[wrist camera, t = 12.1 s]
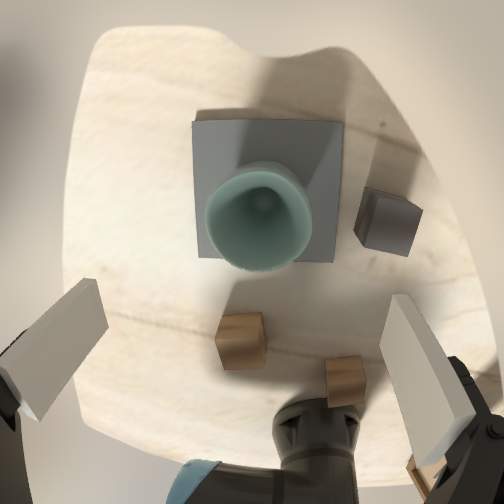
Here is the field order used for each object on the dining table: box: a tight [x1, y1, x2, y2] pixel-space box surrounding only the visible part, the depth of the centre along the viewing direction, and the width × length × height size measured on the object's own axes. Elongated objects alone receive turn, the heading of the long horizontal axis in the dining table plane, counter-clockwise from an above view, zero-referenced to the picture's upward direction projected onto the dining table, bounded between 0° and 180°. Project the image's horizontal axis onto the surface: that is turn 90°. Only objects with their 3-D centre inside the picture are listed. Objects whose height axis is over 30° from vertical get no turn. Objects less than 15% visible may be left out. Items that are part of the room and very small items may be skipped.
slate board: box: [192, 119, 343, 263], centre depth 31 cm, size 15×15×1 cm
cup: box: [205, 160, 313, 272], centre depth 26 cm, size 8×8×10 cm
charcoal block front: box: [353, 187, 423, 257], centre depth 29 cm, size 5×5×5 cm
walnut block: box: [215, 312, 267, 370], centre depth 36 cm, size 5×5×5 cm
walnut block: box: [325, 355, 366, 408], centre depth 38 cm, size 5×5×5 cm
